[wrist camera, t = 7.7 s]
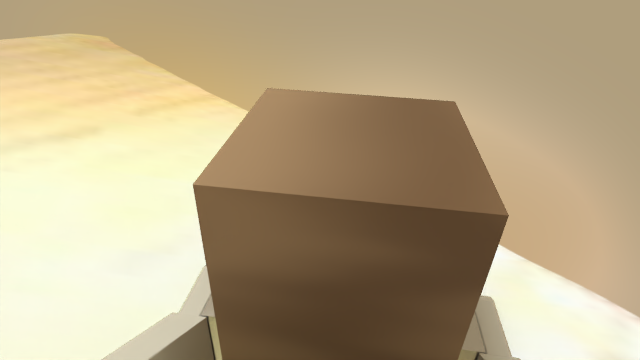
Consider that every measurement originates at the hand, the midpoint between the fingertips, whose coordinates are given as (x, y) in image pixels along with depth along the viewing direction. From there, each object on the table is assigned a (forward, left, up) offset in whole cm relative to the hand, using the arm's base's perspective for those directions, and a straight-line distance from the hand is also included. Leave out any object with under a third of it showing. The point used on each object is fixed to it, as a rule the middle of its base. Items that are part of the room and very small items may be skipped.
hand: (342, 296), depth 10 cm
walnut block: (0, -1, -7) cm, 7 cm away
